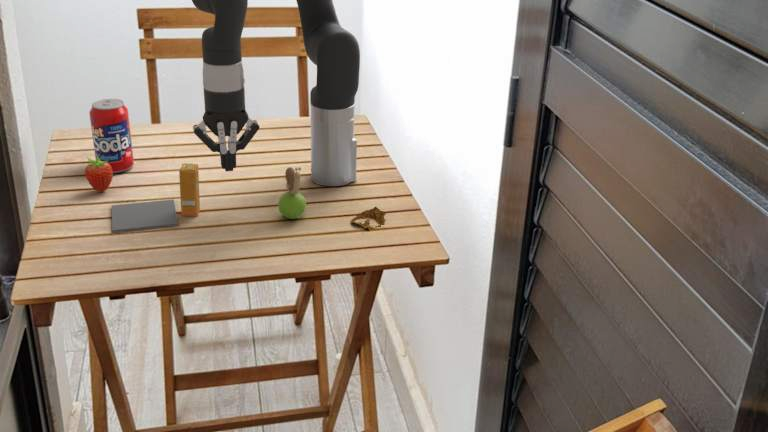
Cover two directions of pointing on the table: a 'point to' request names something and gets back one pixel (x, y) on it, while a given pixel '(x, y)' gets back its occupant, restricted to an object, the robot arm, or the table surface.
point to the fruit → (99, 174)
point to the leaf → (370, 217)
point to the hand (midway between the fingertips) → (228, 169)
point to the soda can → (112, 133)
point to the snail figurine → (292, 196)
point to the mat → (143, 215)
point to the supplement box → (189, 189)
